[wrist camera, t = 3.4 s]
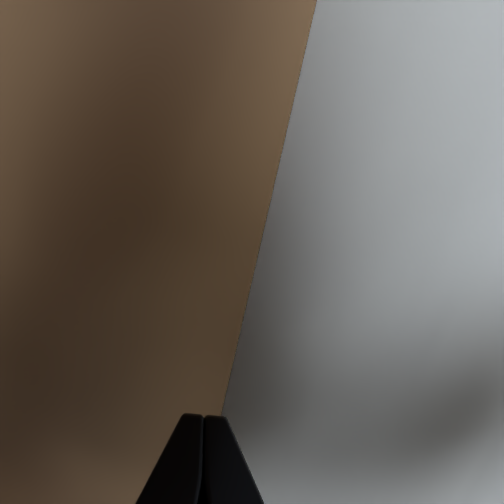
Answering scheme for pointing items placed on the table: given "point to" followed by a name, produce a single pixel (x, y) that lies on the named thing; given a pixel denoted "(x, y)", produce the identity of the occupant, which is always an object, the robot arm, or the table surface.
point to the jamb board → (129, 224)
